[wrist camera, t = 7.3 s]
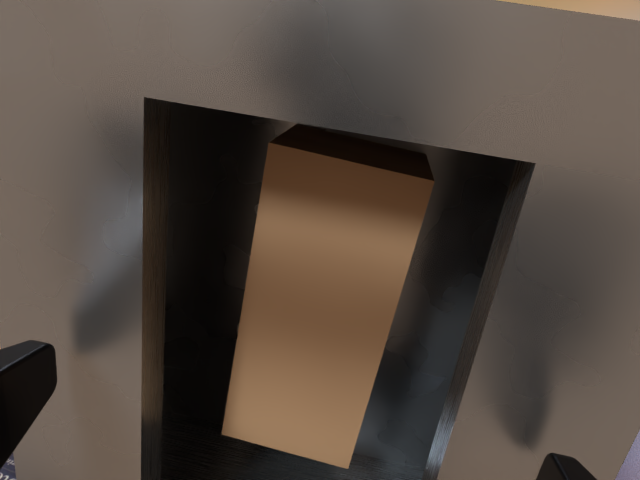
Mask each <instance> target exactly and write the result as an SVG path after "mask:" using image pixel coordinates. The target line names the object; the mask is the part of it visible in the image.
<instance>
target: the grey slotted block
mask: <svg viewBox="0 0 640 480" xmlns="http://www.w3.org/2000/svg"><path fill="white" fill-rule="evenodd" d="M296 124H298V125H302V126H306V127H311V128H315V129H319V130H324V131H328V132H332V133H337V134H341V135H345V136H350V137H354V138H358V139H363V140H367V141H371V142H376V143H380V144H384V145H389V146H393V147H397V148H402V149H406V150H410V151H415V152H419V153H424V154H426V155H427V159H428V162H429V165H430V168H431V171H432V174H433V178H434V181H435V182H434V185H433V188H432V192H431V195H430V198H429V202H428V205H427V208H426V212H425V215H424V218H423V222H422V225H421V228H420V232H419V235H418V238H417V242H416V245H415V248H414V252H413V255H412V258H411V262H410V265H409V268H408V271H407V275H406V278H405V281H404V285H403V288H402V291H401V295H400V298H399V301H398V305H397V308H396V311H395V315H394V318H393V321H392V325H391V328H390V331H389V335H388V338H387V341H386V345H385V348H384V351H383V355H382V358H381V361H380V365H379V368H378V371H377V375H376V378H375V381H374V384H373V388H372V391H371V394H370V398H369V401H368V404H367V408H366V411H365V414H364V418H363V421H362V424H361V428H360V431H359V434H358V438H357V441H356V444H355V448H354V451H353V454H352V458H351V461H350V464H349V468H348V469H346V468H342V467H338V466H335V465H331V464H327V463H324V462H320V461H317V460H313V459H309V458H306V457H302V456H298V455H295V454H291V453H287V452H284V451H280V450H276V449H273V448H269V447H266V446H262V445H258V444H255V443H251V442H247V441H244V440H240V439H236V438H233V437H229V436H225V435H222V428H223V422H224V416H225V409H226V403H227V397H228V391H229V385H230V378H231V372H232V366H233V360H234V354H235V348H236V341H237V335H238V329H239V323H240V317H241V310H242V304H243V298H244V292H245V286H246V280H247V273H248V267H249V261H250V255H251V249H252V242H253V236H254V230H255V224H256V218H257V212H258V205H259V199H260V193H261V187H262V181H263V174H264V168H265V162H266V156H267V150H268V144H269V142H270V141H272V140H273V139H275V138H276V137H278V136H279V135H281V134H282V133H284V132H285V131H287V130H288V129H290V128H291V127H293V126H294V125H296ZM28 340H36V341H41V342H46V343H50V344H51V345H53V346H54V348H55V352H56V366H57V385H56V388H55V391H54V393H53V394H52V396H51V397H50V399H49V400H48V402H47V403H46V405H45V406H44V408H43V409H42V411H41V412H40V414H39V415H38V416H37V418H36V419H35V421H34V422H33V424H32V425H31V427H30V428H29V430H28V431H27V433H26V434H25V436H24V437H23V439H22V440H21V441H20V443H19V444H18V446H17V447H16V449H15V450H14V452H13V455H14V464H15V472H16V480H536V478H537V475H538V473H539V470H540V468H541V466H542V463H543V461H544V459H545V457H546V455H547V454H549V453H557V454H561V455H566V456H570V457H573V458H575V459H576V460H578V461H579V462H580V463H581V464H582V465H583V466H584V467H585V468H586V469H587V470H588V471H589V472H590V473H591V474H592V475H593V476H594V477H595V478H596V479H597V480H615V478H616V476H617V474H618V472H619V470H620V468H621V466H622V464H623V462H624V460H625V458H626V456H627V454H628V452H629V450H630V448H631V446H632V444H633V442H634V440H635V438H636V436H637V434H638V432H639V430H640V21H637V20H630V19H623V18H616V17H609V16H602V15H595V14H588V13H581V12H574V11H567V10H559V9H552V8H545V7H538V6H531V5H524V4H517V3H510V2H503V1H496V0H0V347H1V349H3V348H6V347H9V346H12V345H16V344H19V343H22V342H25V341H28Z"/></svg>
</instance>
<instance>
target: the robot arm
mask: <svg viewBox="0 0 640 480" xmlns="http://www.w3.org/2000/svg"><path fill="white" fill-rule="evenodd" d="M56 385H57V366H56V352H55V348H54V346H53V345H51V344H50V343H46V342H41V341H36V340H28V341H25V342H22V343H19V344H16V345H12V346H9V347H6V348H3V349H0V470H1V468H2V467H3V466H4V464H5V463H6V462H7V460H8V459H9V457H10V456H11V455H12V453H13V452H14V450H15V449H16V447H17V446H18V444H19V443H20V441H21V440H22V439H23V437H24V436H25V434H26V433H27V431H28V430H29V428H30V427H31V425H32V424H33V422H34V421H35V419H36V418H37V416H38V415H39V414H40V412H41V411H42V409H43V408H44V406H45V405H46V403H47V402H48V400H49V399H50V397H51V396H52V394H53V393H54V391H55V388H56ZM536 480H597V479H596V478H595V477H594V476H593V475H592V474H591V473H590V472H589V471H588V470H587V469H586V468H585V467H584V466H583V465H582V464H581V463H580V462H579V461H578V460H576V459H575V458H573V457H570V456H566V455H561V454H557V453H549V454H547V455H546V457H545V459H544V461H543V463H542V466H541V468H540V470H539V473H538V475H537V478H536Z"/></svg>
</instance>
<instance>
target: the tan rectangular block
mask: <svg viewBox="0 0 640 480" xmlns="http://www.w3.org/2000/svg"><path fill="white" fill-rule="evenodd" d="M434 182H435V181H434V178H433V174H432V171H431V168H430V165H429V162H428V159H427V155H426V154H424V153H419V152H415V151H410V150H406V149H402V148H397V147H393V146H389V145H384V144H380V143H376V142H371V141H367V140H363V139H358V138H354V137H350V136H345V135H341V134H337V133H332V132H328V131H324V130H319V129H315V128H311V127H306V126H302V125H298V124H296V125H294V126H293V127H291V128H290V129H288V130H287V131H285V132H284V133H282V134H281V135H279V136H278V137H276V138H275V139H273V140H272V141H270V142H269V144H268V150H267V156H266V162H265V168H264V174H263V181H262V187H261V193H260V199H259V205H258V212H257V218H256V224H255V230H254V236H253V242H252V249H251V255H250V261H249V267H248V273H247V280H246V286H245V292H244V298H243V304H242V310H241V317H240V323H239V329H238V335H237V341H236V348H235V354H234V360H233V366H232V372H231V378H230V385H229V391H228V397H227V403H226V409H225V416H224V422H223V428H222V435H225V436H229V437H233V438H236V439H240V440H244V441H247V442H251V443H255V444H258V445H262V446H266V447H269V448H273V449H276V450H280V451H284V452H287V453H291V454H295V455H298V456H302V457H306V458H309V459H313V460H317V461H320V462H324V463H327V464H331V465H335V466H338V467H342V468H346V469H348V468H349V464H350V461H351V458H352V454H353V451H354V448H355V444H356V441H357V438H358V434H359V431H360V428H361V424H362V421H363V418H364V414H365V411H366V408H367V404H368V401H369V398H370V394H371V391H372V388H373V384H374V381H375V378H376V375H377V371H378V368H379V365H380V361H381V358H382V355H383V351H384V348H385V345H386V341H387V338H388V335H389V331H390V328H391V325H392V321H393V318H394V315H395V311H396V308H397V305H398V301H399V298H400V295H401V291H402V288H403V285H404V281H405V278H406V275H407V271H408V268H409V265H410V262H411V258H412V255H413V252H414V248H415V245H416V242H417V238H418V235H419V232H420V228H421V225H422V222H423V218H424V215H425V212H426V208H427V205H428V202H429V198H430V195H431V192H432V188H433V185H434Z"/></svg>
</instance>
